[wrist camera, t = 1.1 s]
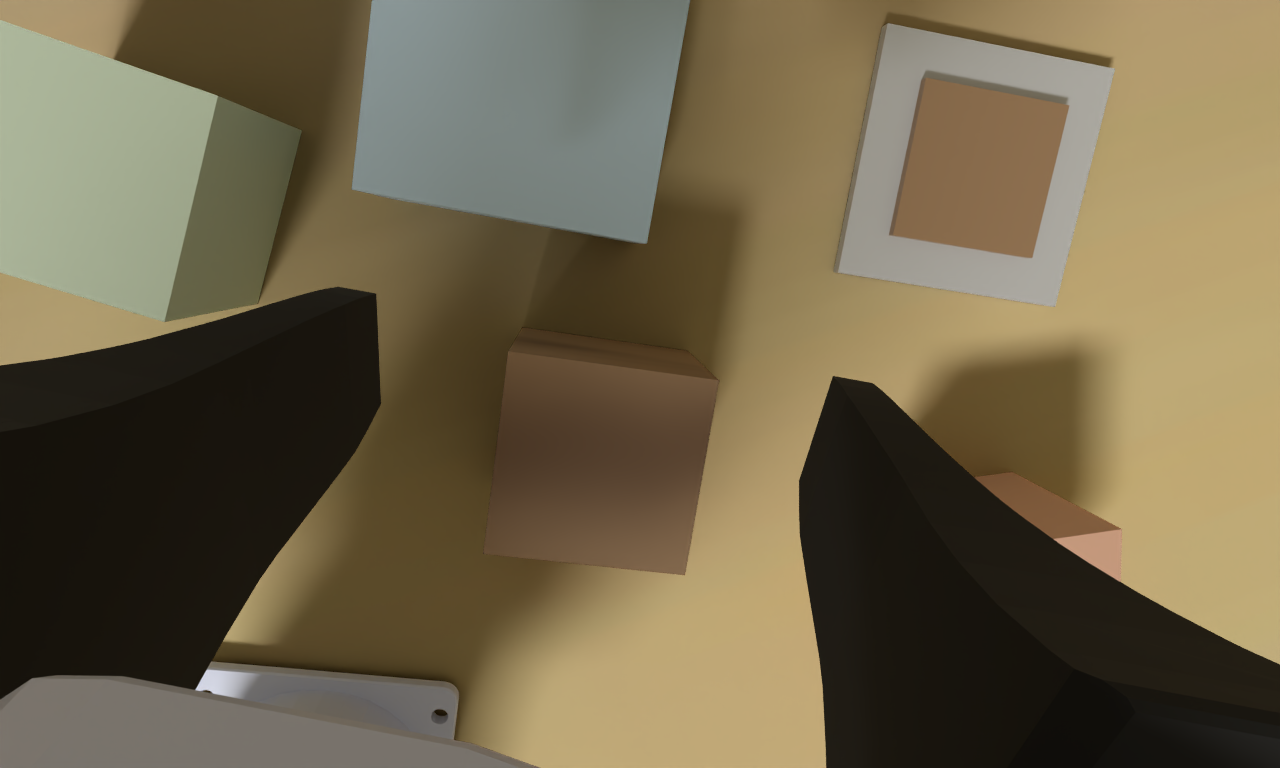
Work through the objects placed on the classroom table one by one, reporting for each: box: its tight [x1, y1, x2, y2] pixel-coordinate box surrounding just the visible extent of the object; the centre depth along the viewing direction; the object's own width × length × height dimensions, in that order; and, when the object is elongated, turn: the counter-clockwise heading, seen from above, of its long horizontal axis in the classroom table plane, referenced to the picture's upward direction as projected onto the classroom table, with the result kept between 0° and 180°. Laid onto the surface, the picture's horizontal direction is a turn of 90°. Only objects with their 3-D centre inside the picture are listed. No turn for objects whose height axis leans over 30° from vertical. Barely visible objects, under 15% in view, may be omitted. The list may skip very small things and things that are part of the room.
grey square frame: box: [834, 23, 1115, 307], centre depth 22 cm, size 7×7×1 cm
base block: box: [352, 0, 690, 244], centre depth 19 cm, size 7×7×4 cm
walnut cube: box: [483, 327, 719, 575], centre depth 20 cm, size 5×5×5 cm
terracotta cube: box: [974, 472, 1122, 582], centre depth 22 cm, size 5×5×5 cm
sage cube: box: [0, 20, 302, 322], centre depth 18 cm, size 5×5×5 cm
